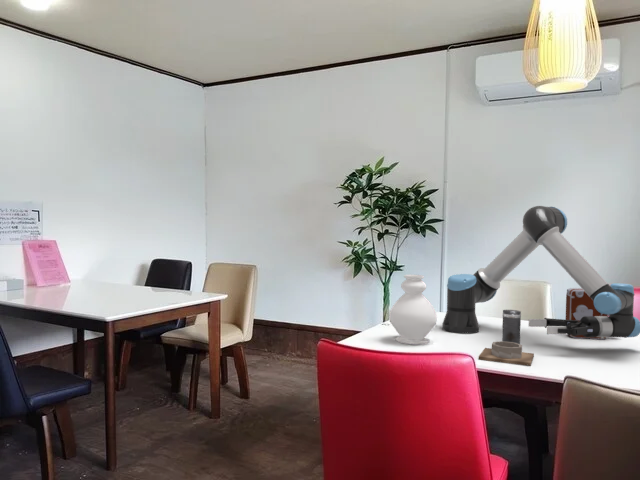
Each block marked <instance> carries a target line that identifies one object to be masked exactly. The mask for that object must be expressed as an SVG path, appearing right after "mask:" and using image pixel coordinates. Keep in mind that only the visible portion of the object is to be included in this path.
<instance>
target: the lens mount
mask: <svg viewBox="0 0 640 480" xmlns="http://www.w3.org/2000/svg"><path fill="white" fill-rule="evenodd" d="M534 357H535V353H534V352H533V353H532V352H524V351H523V344H521V343H520V344H517V343H514V342H505V341H502V340H500V341H493V342H492V343H491V347H490V348H489V347H485V348H484V349H483V350H482V351H481V353H480V354H479V355H478V358H477V359H478V360H481V361H488V362H497V363H505V364H512V365H518V366H519V365H520V366H527V367H528V366H529V367H531V366H532V363H533V360H534Z"/></svg>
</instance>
